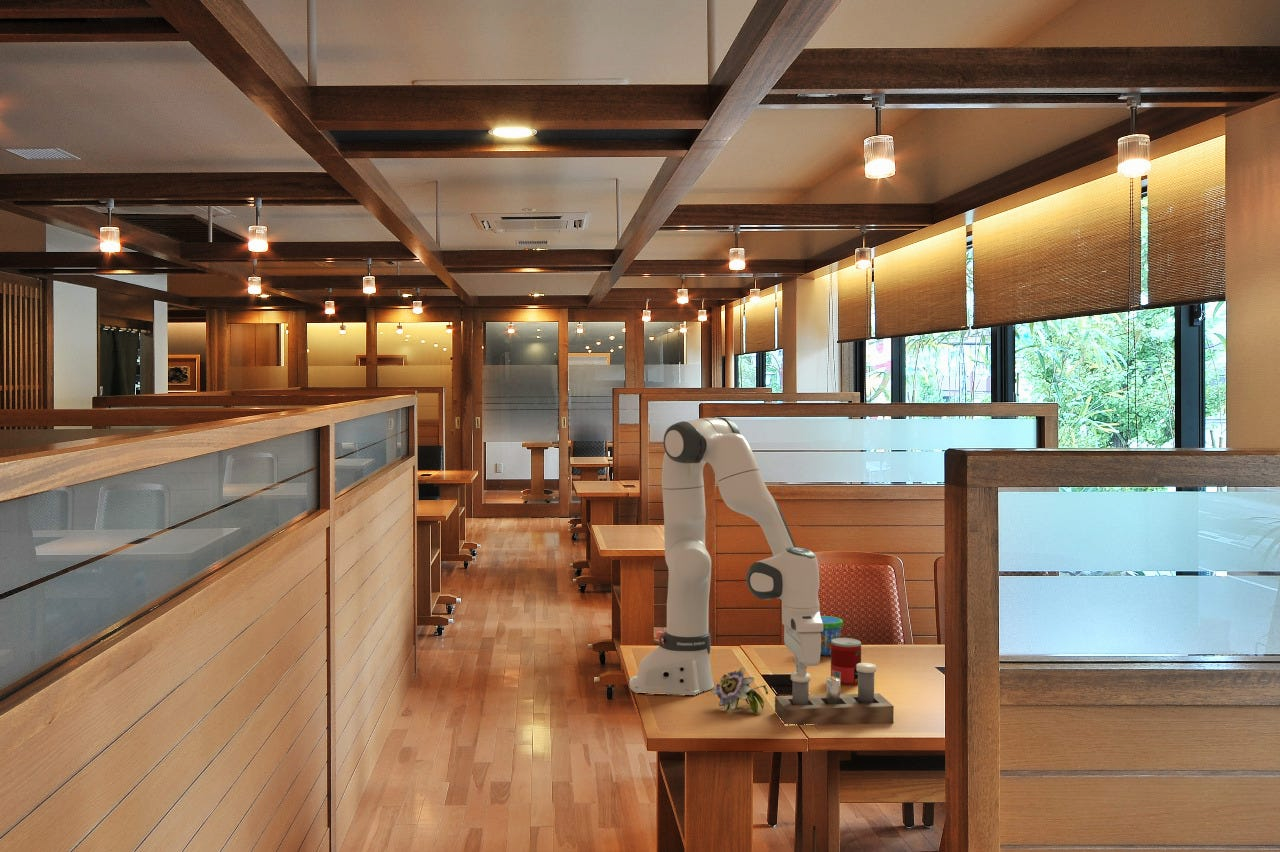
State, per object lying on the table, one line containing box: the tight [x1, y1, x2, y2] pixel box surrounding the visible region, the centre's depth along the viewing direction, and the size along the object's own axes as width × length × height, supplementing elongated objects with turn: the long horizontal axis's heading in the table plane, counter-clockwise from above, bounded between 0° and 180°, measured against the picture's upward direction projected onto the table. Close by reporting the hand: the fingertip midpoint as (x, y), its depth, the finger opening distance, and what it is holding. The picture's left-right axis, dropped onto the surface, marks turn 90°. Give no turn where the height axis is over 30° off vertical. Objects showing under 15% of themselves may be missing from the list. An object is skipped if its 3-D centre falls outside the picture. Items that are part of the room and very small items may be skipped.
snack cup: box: [820, 615, 844, 656], centre depth 296 cm, size 16×10×10 cm
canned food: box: [830, 637, 862, 686], centre depth 266 cm, size 8×8×11 cm
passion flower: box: [711, 666, 769, 714], centre depth 243 cm, size 11×11×12 cm
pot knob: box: [826, 675, 841, 705], centre depth 236 cm, size 3×3×6 cm
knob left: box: [790, 671, 811, 706], centre depth 235 cm, size 5×5×9 cm
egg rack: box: [774, 692, 895, 726], centre depth 236 cm, size 26×10×4 cm, turn 95°
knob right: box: [856, 662, 877, 704], centre depth 237 cm, size 5×5×9 cm
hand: (801, 674), depth 235 cm, fingers closed, pressing on knob left
